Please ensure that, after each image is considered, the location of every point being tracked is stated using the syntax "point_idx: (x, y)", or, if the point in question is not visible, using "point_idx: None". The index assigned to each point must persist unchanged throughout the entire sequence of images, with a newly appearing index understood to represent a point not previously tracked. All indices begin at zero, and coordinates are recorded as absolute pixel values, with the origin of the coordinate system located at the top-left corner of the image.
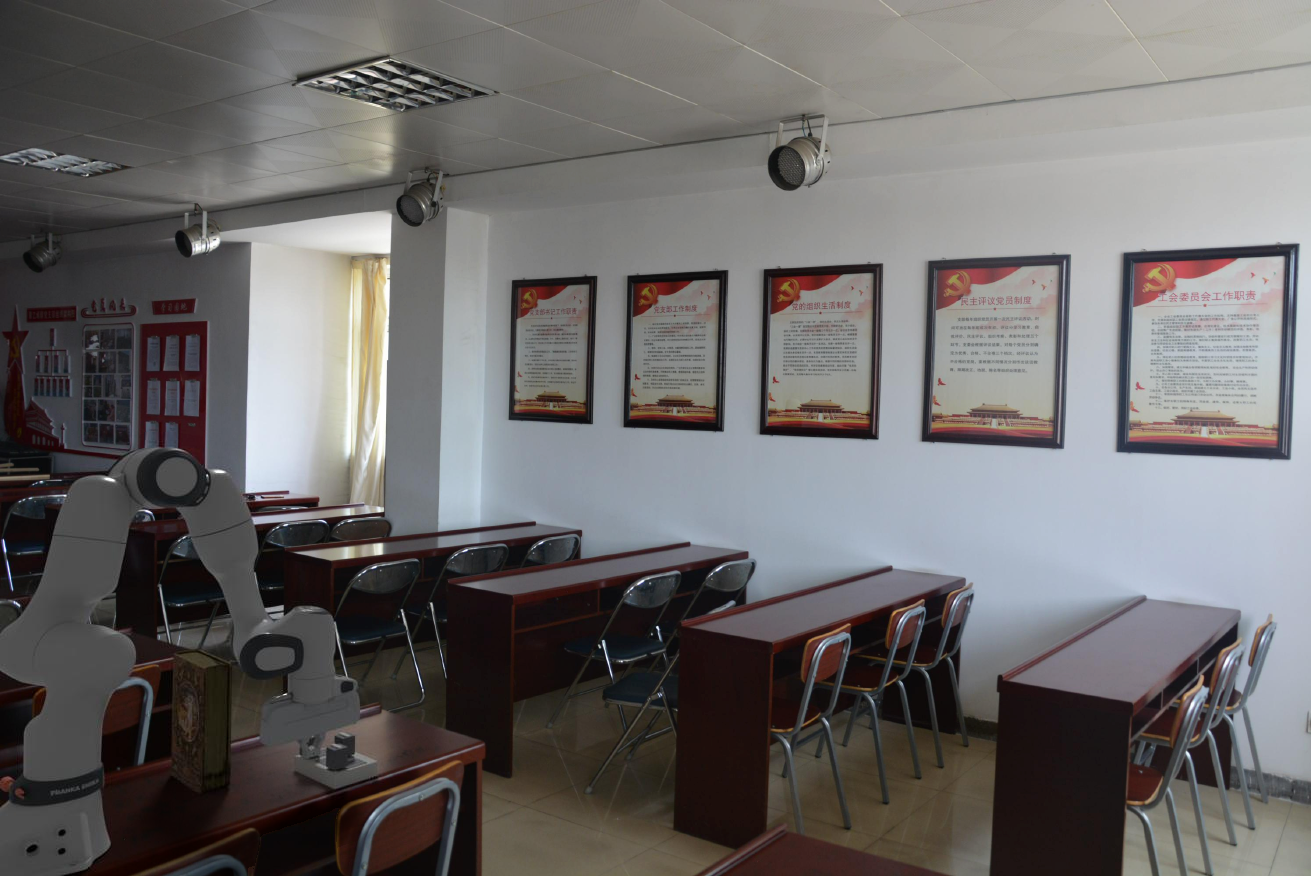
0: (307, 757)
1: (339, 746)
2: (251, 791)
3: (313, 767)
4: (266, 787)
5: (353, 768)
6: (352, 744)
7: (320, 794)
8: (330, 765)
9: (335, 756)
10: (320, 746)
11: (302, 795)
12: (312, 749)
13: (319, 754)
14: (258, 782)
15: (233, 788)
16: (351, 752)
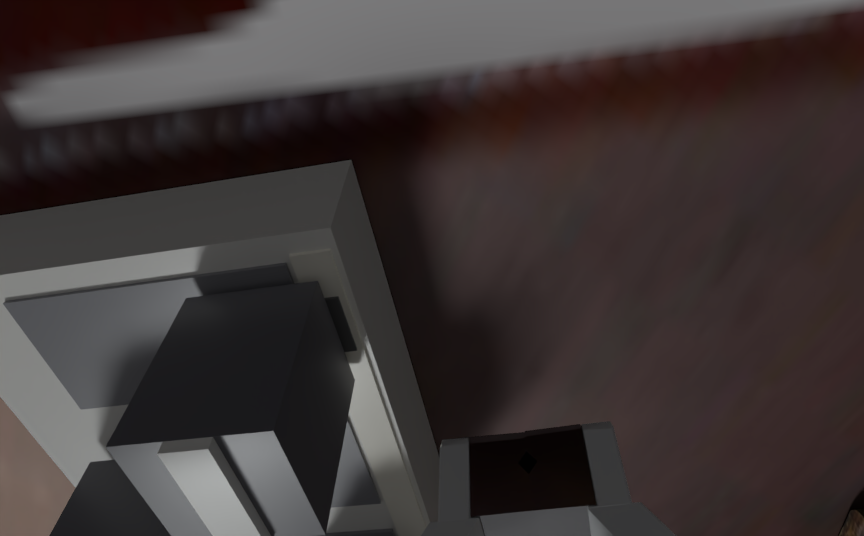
0: (609, 426)
1: (196, 480)
2: (804, 410)
3: (411, 445)
4: (703, 415)
5: (140, 257)
6: (71, 534)
7: (484, 123)
8: (331, 347)
9: (278, 375)
10: (435, 522)
11: (604, 184)
12: (551, 503)
13: (449, 439)
14: (691, 485)
15: (840, 484)
16: (108, 476)
